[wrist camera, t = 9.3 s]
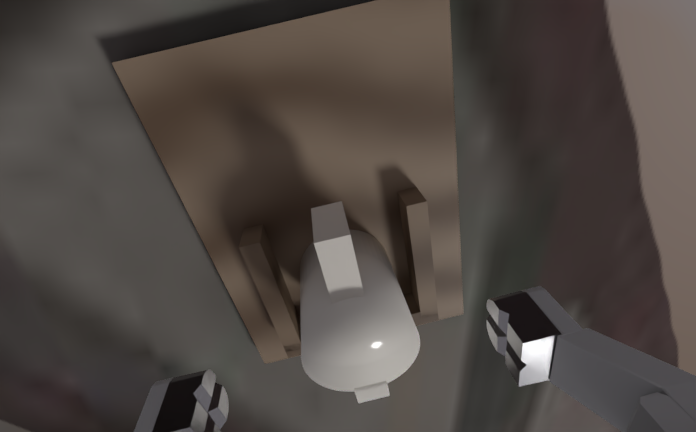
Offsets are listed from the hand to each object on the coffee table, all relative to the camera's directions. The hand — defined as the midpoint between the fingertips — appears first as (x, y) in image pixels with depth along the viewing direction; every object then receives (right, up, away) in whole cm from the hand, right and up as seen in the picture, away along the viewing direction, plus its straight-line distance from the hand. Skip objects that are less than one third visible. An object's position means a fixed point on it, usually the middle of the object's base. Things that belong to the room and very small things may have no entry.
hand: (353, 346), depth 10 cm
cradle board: (-1, +3, +13) cm, 13 cm away
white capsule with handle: (-1, +1, +13) cm, 13 cm away
